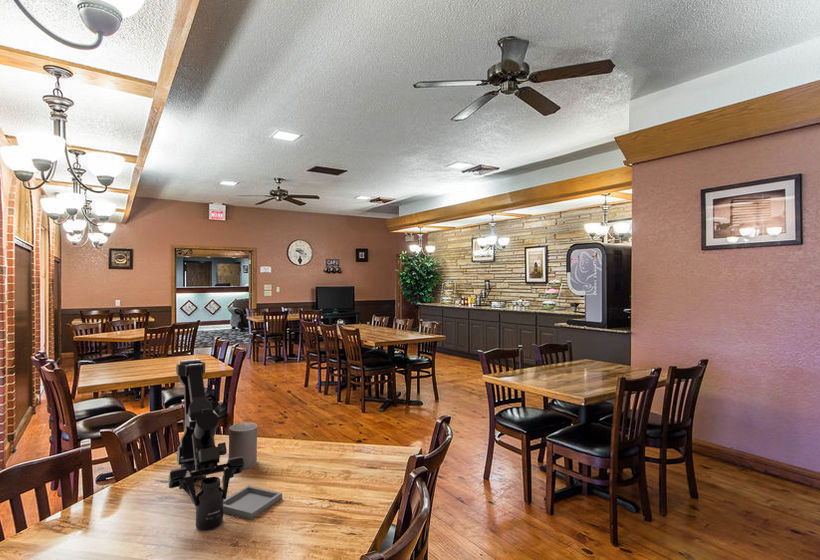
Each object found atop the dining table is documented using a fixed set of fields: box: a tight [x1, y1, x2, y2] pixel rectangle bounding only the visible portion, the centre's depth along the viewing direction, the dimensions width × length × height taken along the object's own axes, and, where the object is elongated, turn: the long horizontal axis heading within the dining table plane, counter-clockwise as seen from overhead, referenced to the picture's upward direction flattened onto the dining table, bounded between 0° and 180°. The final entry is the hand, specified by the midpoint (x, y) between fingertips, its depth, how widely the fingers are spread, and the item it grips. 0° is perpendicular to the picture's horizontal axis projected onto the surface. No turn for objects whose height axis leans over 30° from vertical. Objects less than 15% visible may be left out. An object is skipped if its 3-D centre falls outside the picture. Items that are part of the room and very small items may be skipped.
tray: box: [223, 485, 283, 521], centre depth 132 cm, size 13×13×2 cm
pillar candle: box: [228, 422, 258, 471], centre depth 161 cm, size 10×10×15 cm
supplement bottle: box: [195, 476, 224, 532], centre depth 121 cm, size 7×7×12 cm
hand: (211, 502), depth 120 cm, fingers closed on supplement bottle, 7 cm apart
